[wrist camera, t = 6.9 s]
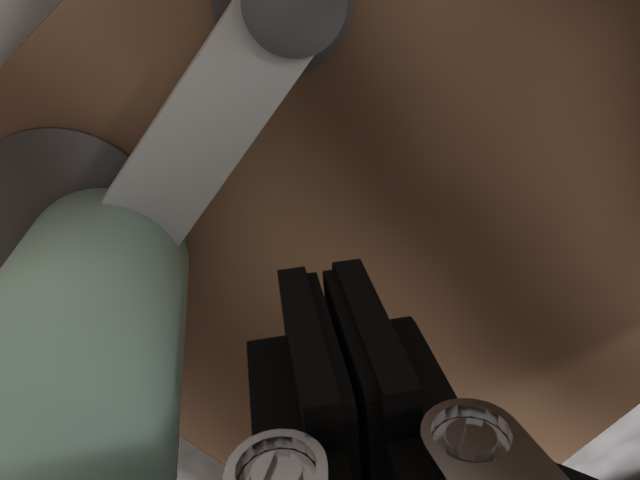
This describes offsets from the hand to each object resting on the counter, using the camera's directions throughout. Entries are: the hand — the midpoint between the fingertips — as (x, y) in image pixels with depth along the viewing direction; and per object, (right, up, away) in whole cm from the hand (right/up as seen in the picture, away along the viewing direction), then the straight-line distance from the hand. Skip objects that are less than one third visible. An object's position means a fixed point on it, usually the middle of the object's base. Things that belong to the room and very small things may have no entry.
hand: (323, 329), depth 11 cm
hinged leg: (-3, +4, +1) cm, 5 cm away
